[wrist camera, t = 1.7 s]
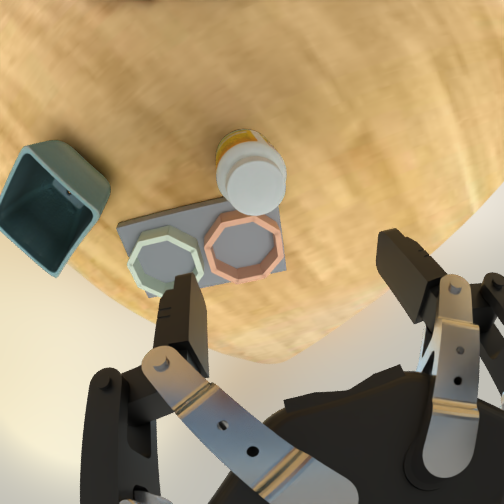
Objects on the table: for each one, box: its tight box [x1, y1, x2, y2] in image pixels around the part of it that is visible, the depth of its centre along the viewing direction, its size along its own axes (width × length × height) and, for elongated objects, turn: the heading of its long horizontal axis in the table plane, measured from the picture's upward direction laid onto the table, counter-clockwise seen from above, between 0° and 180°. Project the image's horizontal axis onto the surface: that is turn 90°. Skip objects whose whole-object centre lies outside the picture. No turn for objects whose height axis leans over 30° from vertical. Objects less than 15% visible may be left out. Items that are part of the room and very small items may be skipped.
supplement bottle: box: [216, 129, 287, 216], centre depth 23 cm, size 5×5×10 cm
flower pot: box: [0, 140, 111, 278], centre depth 22 cm, size 9×9×9 cm
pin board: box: [116, 197, 286, 298], centre depth 30 cm, size 10×17×3 cm, turn 99°
